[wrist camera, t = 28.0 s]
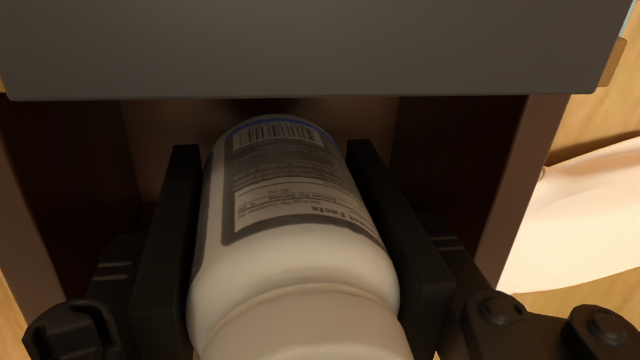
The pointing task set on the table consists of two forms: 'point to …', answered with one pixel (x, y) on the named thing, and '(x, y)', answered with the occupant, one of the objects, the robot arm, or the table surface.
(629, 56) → the table surface
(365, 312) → the pill bottle
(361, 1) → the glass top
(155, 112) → the case
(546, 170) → the toy car
